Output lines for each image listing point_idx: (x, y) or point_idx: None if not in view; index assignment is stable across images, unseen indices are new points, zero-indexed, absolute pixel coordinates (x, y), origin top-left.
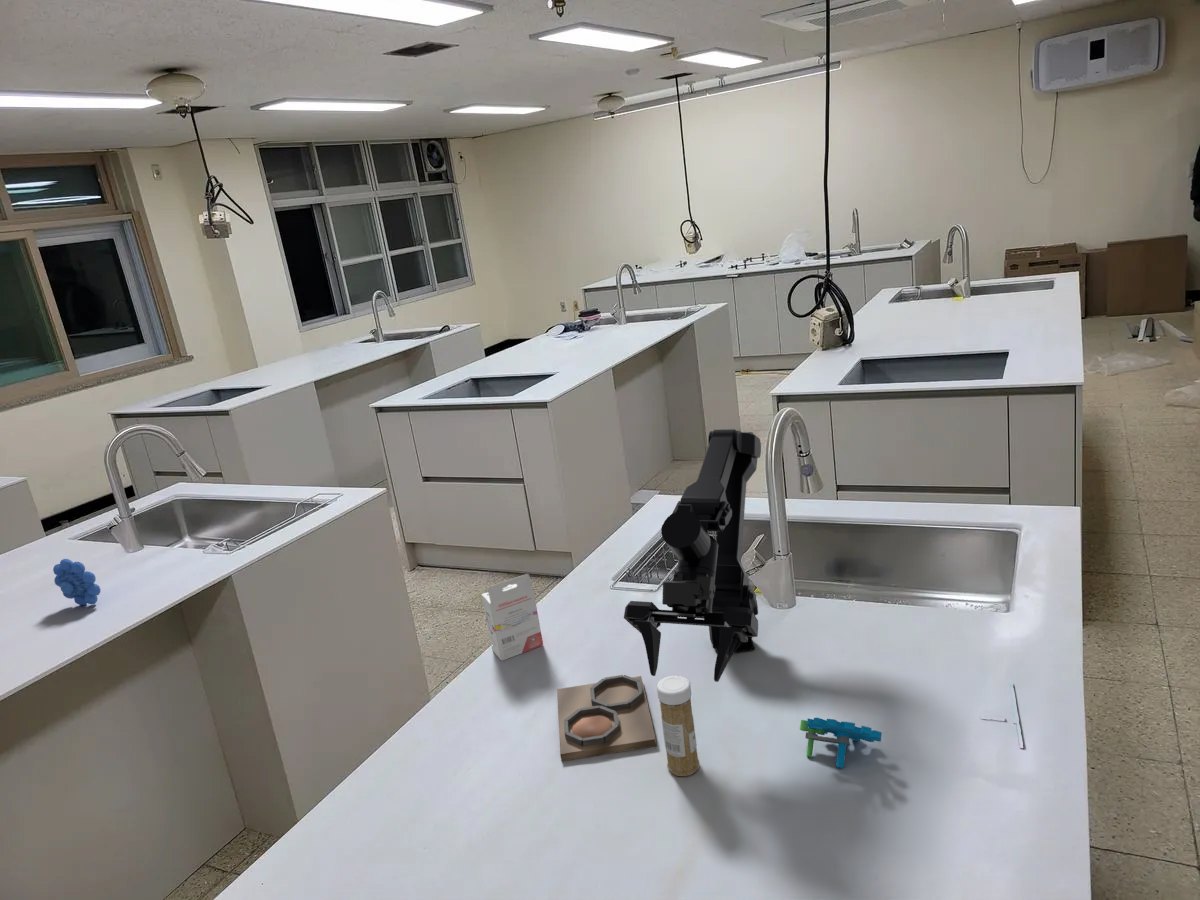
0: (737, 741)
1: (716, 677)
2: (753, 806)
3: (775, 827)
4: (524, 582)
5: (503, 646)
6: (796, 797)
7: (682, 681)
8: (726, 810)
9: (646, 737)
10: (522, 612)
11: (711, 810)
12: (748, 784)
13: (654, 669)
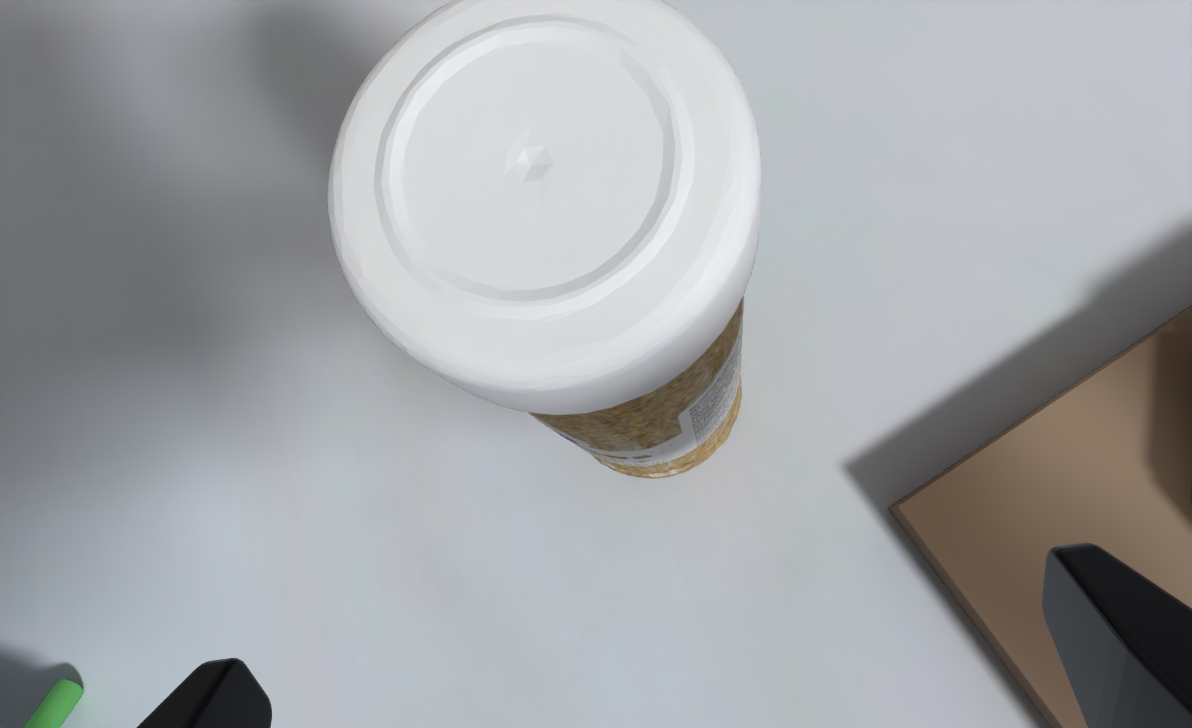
0: (449, 706)
1: (191, 679)
2: (251, 264)
3: (145, 188)
4: None
5: None
6: (94, 386)
7: (431, 251)
8: None
9: (963, 499)
10: None
11: None
12: (305, 389)
13: (1081, 625)
